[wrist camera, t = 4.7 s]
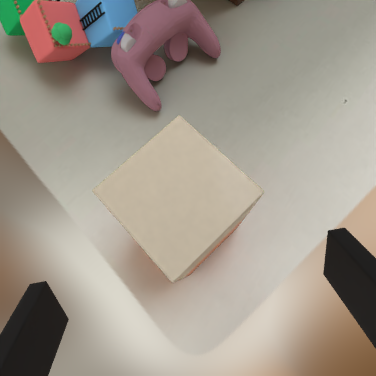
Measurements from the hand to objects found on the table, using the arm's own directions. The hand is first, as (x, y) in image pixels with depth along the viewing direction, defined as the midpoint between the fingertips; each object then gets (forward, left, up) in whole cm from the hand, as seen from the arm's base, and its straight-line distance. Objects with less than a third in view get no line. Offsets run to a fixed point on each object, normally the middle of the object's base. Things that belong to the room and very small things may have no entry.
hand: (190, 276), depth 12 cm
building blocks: (+25, -13, -9) cm, 29 cm away
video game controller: (+14, -15, -9) cm, 22 cm away
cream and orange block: (+3, -3, -9) cm, 10 cm away
